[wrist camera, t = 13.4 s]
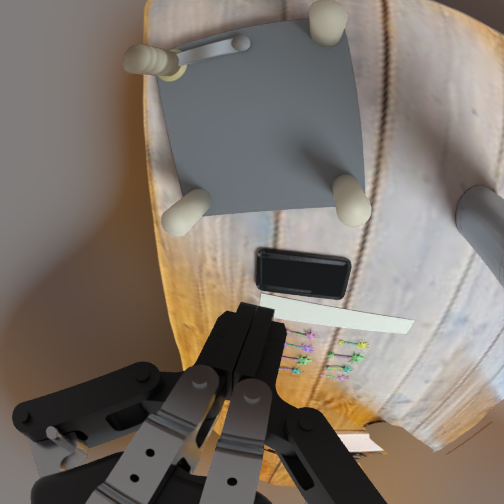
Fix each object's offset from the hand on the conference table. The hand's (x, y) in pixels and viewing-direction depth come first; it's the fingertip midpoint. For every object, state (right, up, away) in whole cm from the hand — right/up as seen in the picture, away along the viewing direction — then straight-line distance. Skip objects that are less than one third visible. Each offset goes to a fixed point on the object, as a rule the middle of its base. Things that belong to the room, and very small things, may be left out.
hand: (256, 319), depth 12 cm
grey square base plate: (+1, +21, +21) cm, 30 cm away
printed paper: (+15, -19, +42) cm, 49 cm away
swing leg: (-6, +28, +15) cm, 32 cm away
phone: (+8, 0, +33) cm, 34 cm away
